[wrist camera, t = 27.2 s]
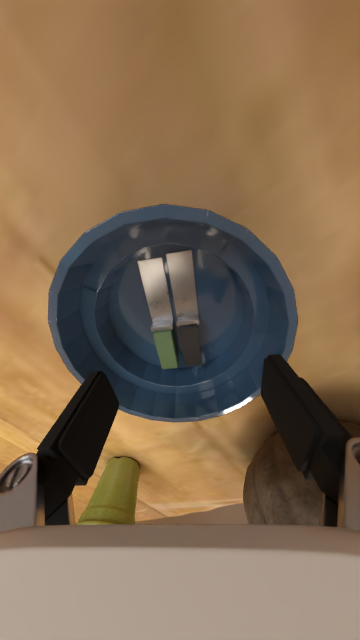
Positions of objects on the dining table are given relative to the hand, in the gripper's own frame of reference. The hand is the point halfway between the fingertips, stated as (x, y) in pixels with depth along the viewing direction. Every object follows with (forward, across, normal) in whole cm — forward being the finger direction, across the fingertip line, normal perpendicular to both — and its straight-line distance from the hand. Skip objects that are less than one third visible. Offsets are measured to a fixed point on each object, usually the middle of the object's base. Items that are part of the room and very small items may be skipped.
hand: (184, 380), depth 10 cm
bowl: (+8, +1, 0) cm, 9 cm away
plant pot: (+8, +16, +30) cm, 35 cm away
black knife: (+8, 0, -1) cm, 8 cm away
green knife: (+8, +2, -1) cm, 8 cm away
